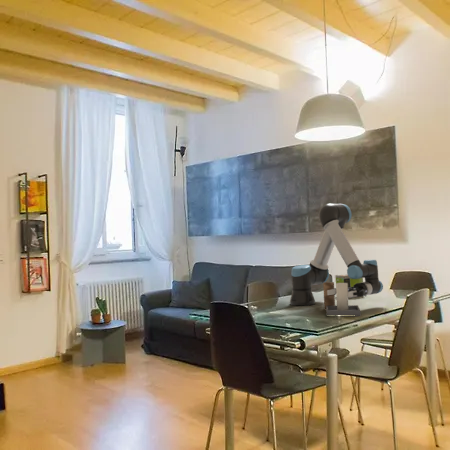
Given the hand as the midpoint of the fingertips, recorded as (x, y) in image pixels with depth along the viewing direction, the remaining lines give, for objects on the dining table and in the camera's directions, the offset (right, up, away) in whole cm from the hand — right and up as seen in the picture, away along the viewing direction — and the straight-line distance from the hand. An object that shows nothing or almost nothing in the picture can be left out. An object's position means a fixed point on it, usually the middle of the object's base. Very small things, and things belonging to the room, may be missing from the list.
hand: (337, 293), depth 263 cm
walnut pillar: (0, -11, +19) cm, 22 cm away
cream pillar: (+3, -10, +2) cm, 10 cm away
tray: (+3, -11, +2) cm, 11 cm away
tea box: (+23, -11, +65) cm, 70 cm away
